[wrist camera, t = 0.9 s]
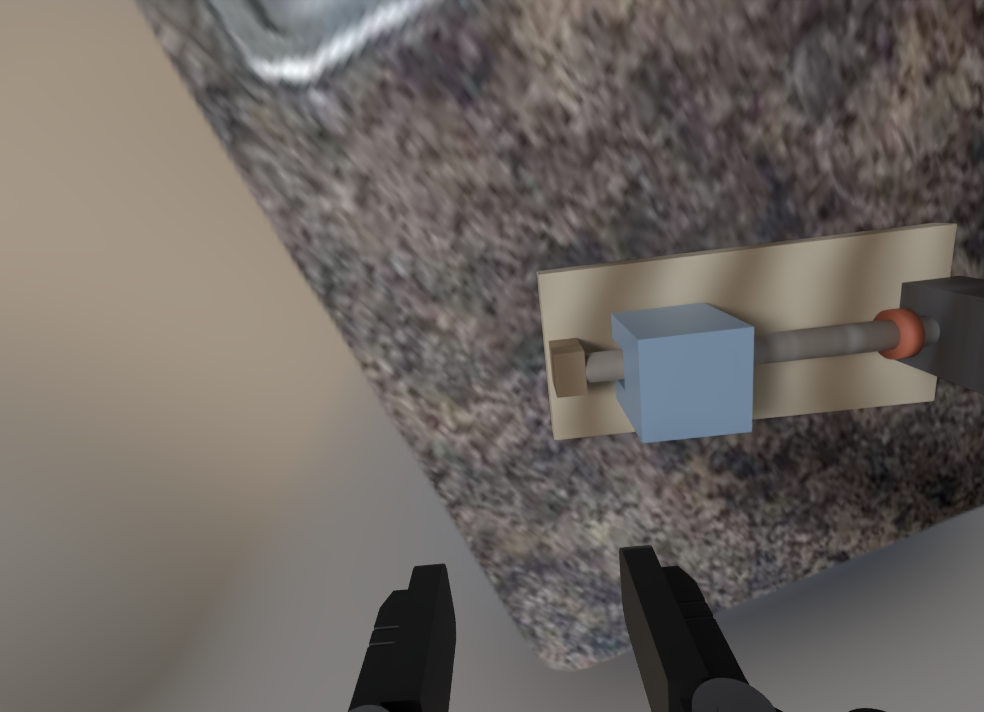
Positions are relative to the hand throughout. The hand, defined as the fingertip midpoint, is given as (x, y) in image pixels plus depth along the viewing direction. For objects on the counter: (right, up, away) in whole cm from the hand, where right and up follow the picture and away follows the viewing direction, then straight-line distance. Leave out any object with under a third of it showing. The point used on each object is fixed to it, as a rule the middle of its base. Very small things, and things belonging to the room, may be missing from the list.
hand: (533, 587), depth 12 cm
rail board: (+13, +7, +18) cm, 23 cm away
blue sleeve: (+8, +6, +16) cm, 19 cm away
